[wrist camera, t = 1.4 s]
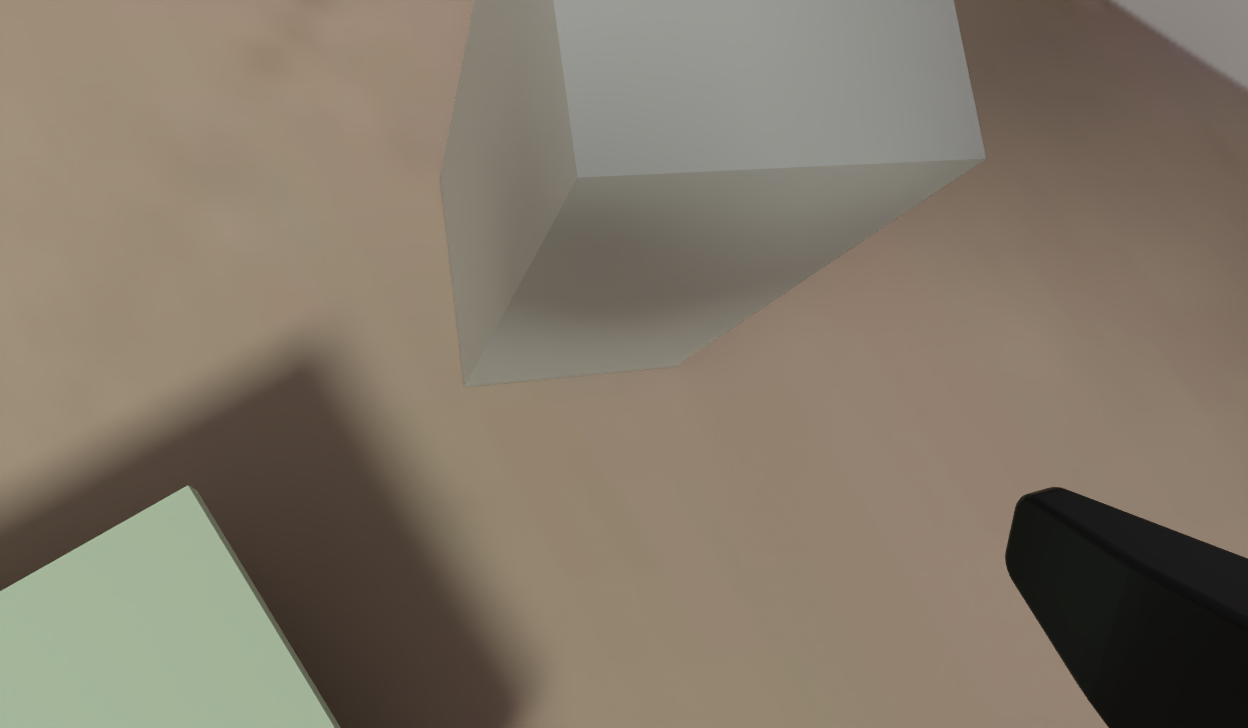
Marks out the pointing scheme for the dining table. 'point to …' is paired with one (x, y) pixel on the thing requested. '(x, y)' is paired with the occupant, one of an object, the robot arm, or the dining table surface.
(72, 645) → the trapdoor
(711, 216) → the block
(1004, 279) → the dining table surface
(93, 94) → the dining table surface
